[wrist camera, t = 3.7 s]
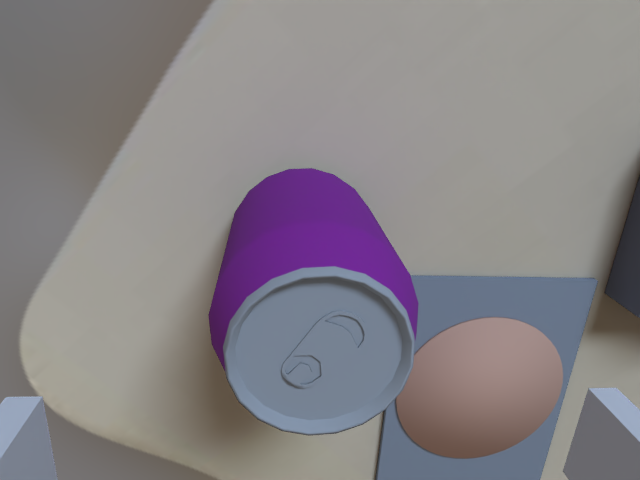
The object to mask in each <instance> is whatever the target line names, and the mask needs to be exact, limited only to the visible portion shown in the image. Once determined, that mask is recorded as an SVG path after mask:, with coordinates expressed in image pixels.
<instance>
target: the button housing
mask: <svg viewBox="0 0 640 480" xmlns="http://www.w3.org/2000/svg"><path fill="white" fill-rule="evenodd" d="M605 294H607V295H608V296H610V297H611V298H612V299H614V300H615V301H616V302H618V303H619V304H621V305H622V306H623V307H625V308H626V309H628V310H629V311H630V312H632V313H633V314H635V315H636V316H637V317H639V318H640V177H639V180H638V184H637V187H636V190H635V194H634V197H633V200H632V204H631V207H630V210H629V214H628V217H627V220H626V224H625V227H624V230H623V234H622V237H621V240H620V244H619V247H618V250H617V254H616V257H615V260H614V264H613V267H612V270H611V274H610V277H609V280H608V284H607V287H606V290H605Z"/></svg>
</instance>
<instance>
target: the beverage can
mask: <svg viewBox="0 0 640 480" xmlns="http://www.w3.org/2000/svg"><path fill="white" fill-rule="evenodd" d="M418 304H419V303H418V299H417V296H416V293H415V289H414V286H413V283H412V279H411V276H410V274H409V272H408V271H407V269H406V268H405V266H404V264H403V263H402V261H401V260H400V258H399V256H398V255H397V253H396V251H395V250H394V248H393V247H392V245H391V243H390V242H389V240H388V238H387V237H386V235H385V234H384V232H383V230H382V229H381V227H380V225H379V224H378V222H377V221H376V219H375V217H374V216H373V214H372V212H371V211H370V209H369V208H368V206H367V205H366V204H365V202H364V201H363V200H362V198H361V197H360V196H359V194H358V193H357V192H356V190H355V189H354V188H352V187H351V186H350V185H348V184H347V183H345V182H344V181H342V180H341V179H339V178H338V177H336V176H335V175H333V174H330V173H326V172H323V171H319V170H316V169H312V168H310V169H288V170H285V171H283V172H280V173H277V174H274V175H271V176H269V177H267V178H265V179H264V180H263V181H261V182H260V183H259V184H258V185H256V186H255V187H254V188H252V189H251V190H250V191H249V192H248V194H247V195H246V197H245V198H244V200H243V201H242V203H241V204H240V206H239V207H238V209H237V210H236V212H235V214H234V218H233V222H232V226H231V230H230V234H229V237H228V241H227V245H226V249H225V253H224V257H223V261H222V265H221V269H220V273H219V276H218V280H217V284H216V288H215V292H214V296H213V300H212V304H211V308H210V312H209V323H210V332H211V341H212V345H213V348H214V350H215V352H216V354H217V356H218V358H219V360H220V362H221V364H222V366H223V368H224V370H225V372H226V377H227V380H228V382H229V384H230V386H231V388H232V390H233V392H234V394H235V396H236V398H237V400H238V401H239V402H240V403H241V404H242V405H243V406H244V407H245V408H246V409H247V410H248V411H249V412H250V413H251V414H252V415H253V416H255V417H256V418H257V419H258V420H260V421H262V422H264V423H266V424H269V425H271V426H273V427H275V428H277V429H279V430H281V431H286V432H292V433H297V434H303V435H321V434H334V433H339V432H342V431H345V430H348V429H351V428H354V427H357V426H360V425H363V424H364V423H366V422H367V421H369V420H370V419H372V418H374V417H375V416H377V415H378V414H380V413H381V412H383V411H384V410H386V409H387V408H388V406H389V405H390V404H391V403H392V402H393V401H394V400H395V398H396V397H397V396H398V395H399V394H400V393H401V392H402V390H403V389H404V386H405V384H406V382H407V380H408V377H409V375H410V373H411V370H412V368H413V362H414V347H415V340H416V333H417V320H418Z"/></svg>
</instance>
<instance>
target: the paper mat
mask: <svg viewBox="0 0 640 480" xmlns="http://www.w3.org/2000/svg"><path fill="white" fill-rule="evenodd" d="M411 279H412V283H413V286H414V289H415V293H416V296H417V299H418V303H419V304H418V320H417V333H416V340H415V347H414V362H413V368H412V370H411V373H410V375H409V377H408V380H407V382H406V384H405V386H404V389H403V390H402V392H401V393H400V394H399V395H398V396H397V397H396V398H395V400H394V401H393V402H392V403H391V404H390V405H389V406H388V408H387V409H386V410H384V418H383V426H382V433H381V441H380V449H379V457H378V464H377V472H376V480H540V478H541V475H542V471H543V468H544V464H545V461H546V457H547V454H548V451H549V447H550V444H551V440H552V437H553V433H554V430H555V427H556V423H557V420H558V416H559V413H560V409H561V406H562V402H563V399H564V396H565V392H566V389H567V385H568V382H569V378H570V375H571V372H572V368H573V365H574V361H575V358H576V354H577V351H578V348H579V344H580V341H581V337H582V334H583V330H584V327H585V324H586V320H587V317H588V313H589V310H590V306H591V303H592V300H593V296H594V293H595V289H596V286H597V282H598V281H597V280H596V279H594V278H546V277H477V276H411Z"/></svg>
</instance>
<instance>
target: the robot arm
mask: <svg viewBox="0 0 640 480" xmlns="http://www.w3.org/2000/svg"><path fill="white" fill-rule="evenodd" d="M563 472H564V473H565V475H566V476H567V478H568V479H569V480H640V410H639V409H638V408H637V407H636V406H635V405H634V404H633V403H632V402H631V401H630V400H629V399H627V398H626V397H625V396H624V395H623V394H622V393H621V392H620V391H619V390H618V389H617V388H588V392H587V395H586V398H585V401H584V405H583V408H582V411H581V414H580V418H579V421H578V424H577V427H576V430H575V434H574V437H573V440H572V443H571V447H570V450H569V453H568V456H567V460H566V463H565V466H564V469H563ZM0 480H58V479H57V474H56V469H55V463H54V457H53V452H52V447H51V441H50V436H49V430H48V424H47V419H46V413H45V408H44V402H43V397H6V398H5V399H4V401H3V402H2V403H1V404H0Z"/></svg>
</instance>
